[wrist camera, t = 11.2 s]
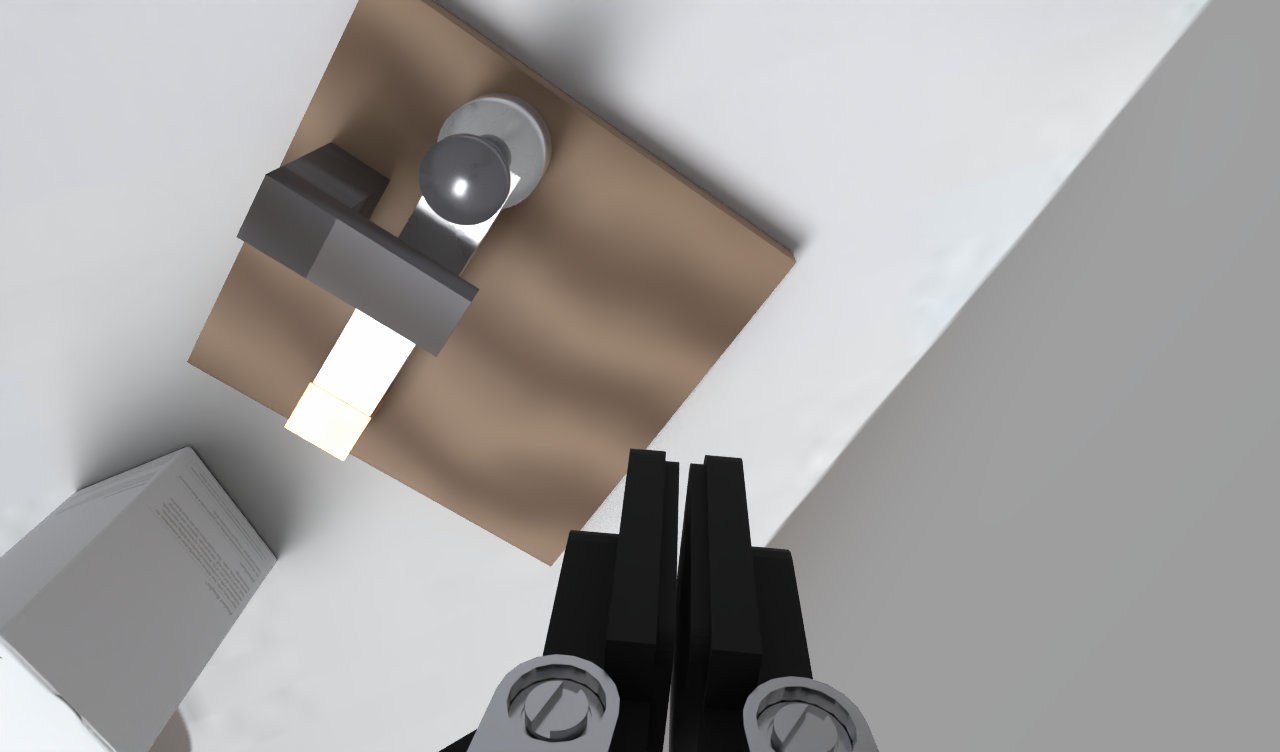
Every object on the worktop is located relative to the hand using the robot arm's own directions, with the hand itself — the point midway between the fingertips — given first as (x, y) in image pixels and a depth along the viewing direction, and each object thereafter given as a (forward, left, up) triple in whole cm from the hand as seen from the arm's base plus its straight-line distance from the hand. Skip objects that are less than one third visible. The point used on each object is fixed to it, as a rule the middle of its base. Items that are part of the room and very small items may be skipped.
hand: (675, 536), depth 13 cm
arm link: (+11, -7, -27) cm, 31 cm away
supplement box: (+35, -12, -29) cm, 47 cm away
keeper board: (+12, -4, -29) cm, 32 cm away
